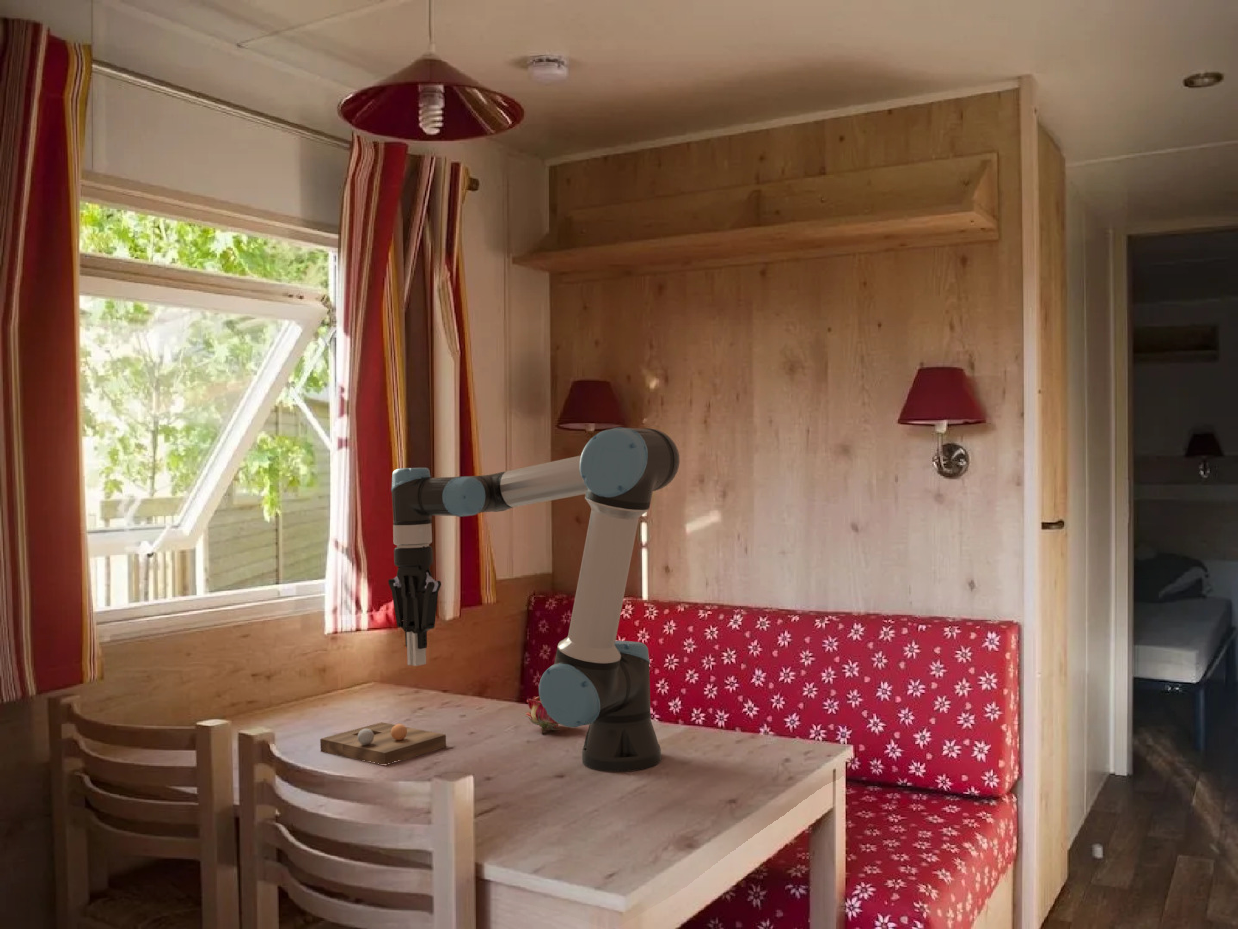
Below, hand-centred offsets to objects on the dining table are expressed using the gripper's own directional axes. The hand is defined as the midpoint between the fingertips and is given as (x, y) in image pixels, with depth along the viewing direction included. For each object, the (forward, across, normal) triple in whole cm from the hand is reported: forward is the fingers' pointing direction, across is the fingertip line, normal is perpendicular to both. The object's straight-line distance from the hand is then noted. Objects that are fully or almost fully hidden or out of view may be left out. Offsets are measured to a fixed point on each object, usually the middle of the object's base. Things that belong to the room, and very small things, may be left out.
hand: (416, 664), depth 219 cm
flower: (+19, -8, -29) cm, 35 cm away
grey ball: (+14, +9, +6) cm, 18 cm away
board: (+18, +11, 0) cm, 21 cm away
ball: (+14, +6, 0) cm, 16 cm away
